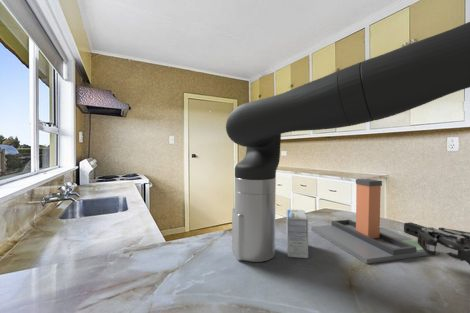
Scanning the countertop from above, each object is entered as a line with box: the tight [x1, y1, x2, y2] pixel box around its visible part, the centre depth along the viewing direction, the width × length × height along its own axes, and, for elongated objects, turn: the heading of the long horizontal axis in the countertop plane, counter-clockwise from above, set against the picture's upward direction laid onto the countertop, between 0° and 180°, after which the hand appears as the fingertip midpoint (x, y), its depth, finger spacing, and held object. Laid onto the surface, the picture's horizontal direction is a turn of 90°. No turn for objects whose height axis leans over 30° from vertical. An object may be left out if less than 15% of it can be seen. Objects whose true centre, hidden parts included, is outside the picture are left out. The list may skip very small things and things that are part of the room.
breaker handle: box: [355, 178, 383, 238], centre depth 58 cm, size 4×4×14 cm
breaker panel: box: [310, 219, 440, 264], centre depth 58 cm, size 20×20×2 cm
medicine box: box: [286, 209, 309, 259], centre depth 52 cm, size 8×4×9 cm, turn 168°
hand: (406, 227), depth 48 cm, fingers closed
